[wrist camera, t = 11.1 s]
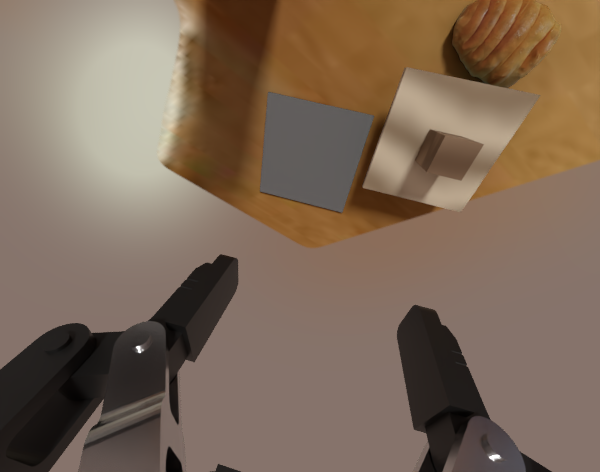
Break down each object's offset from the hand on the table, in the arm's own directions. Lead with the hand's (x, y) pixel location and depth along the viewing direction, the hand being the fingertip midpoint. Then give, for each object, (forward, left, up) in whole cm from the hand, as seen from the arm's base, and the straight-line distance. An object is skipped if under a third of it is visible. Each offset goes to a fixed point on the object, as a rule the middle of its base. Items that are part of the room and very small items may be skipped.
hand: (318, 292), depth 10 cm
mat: (+1, -5, -28) cm, 29 cm away
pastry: (-15, +13, -29) cm, 35 cm away
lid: (-4, +10, -23) cm, 26 cm away
